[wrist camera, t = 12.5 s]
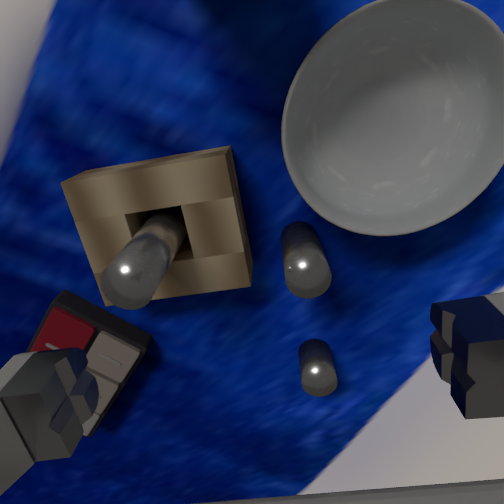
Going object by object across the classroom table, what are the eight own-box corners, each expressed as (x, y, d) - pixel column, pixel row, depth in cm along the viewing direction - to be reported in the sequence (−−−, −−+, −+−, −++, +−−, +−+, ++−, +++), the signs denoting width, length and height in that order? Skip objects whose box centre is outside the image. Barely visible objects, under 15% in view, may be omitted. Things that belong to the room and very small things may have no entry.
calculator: (146, 353, 41) (87, 444, 46) (156, 331, 45) (101, 416, 50) (48, 303, 39) (-3, 403, 44) (67, 284, 43) (18, 377, 48)
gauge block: (230, 145, 36) (224, 154, 31) (252, 263, 40) (250, 286, 36) (86, 170, 37) (60, 182, 33) (123, 281, 42) (105, 306, 37)
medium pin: (315, 219, 38) (330, 254, 30) (318, 253, 40) (332, 296, 31) (279, 223, 39) (283, 259, 30) (282, 256, 40) (287, 300, 32)
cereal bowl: (421, -42, 30) (463, -77, 23) (506, 141, 35) (561, 155, 28) (241, 98, 34) (235, 101, 28) (340, 243, 39) (354, 274, 33)
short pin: (328, 337, 44) (335, 366, 39) (331, 363, 45) (338, 394, 40) (296, 340, 44) (299, 370, 39) (300, 366, 45) (304, 398, 41)
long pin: (187, 198, 38) (145, 257, 25) (195, 233, 39) (160, 305, 26) (151, 204, 38) (92, 265, 25) (161, 238, 40) (109, 312, 27)
